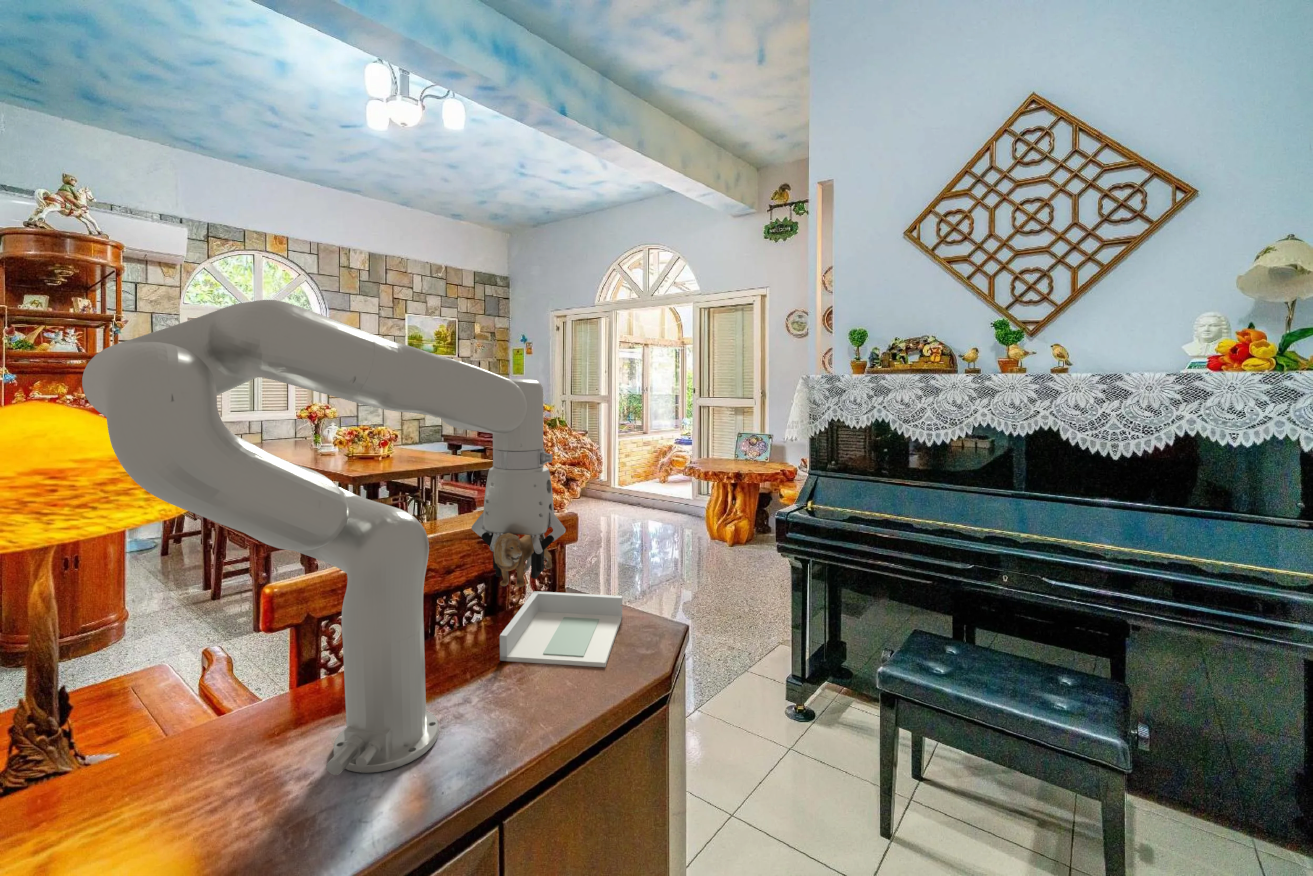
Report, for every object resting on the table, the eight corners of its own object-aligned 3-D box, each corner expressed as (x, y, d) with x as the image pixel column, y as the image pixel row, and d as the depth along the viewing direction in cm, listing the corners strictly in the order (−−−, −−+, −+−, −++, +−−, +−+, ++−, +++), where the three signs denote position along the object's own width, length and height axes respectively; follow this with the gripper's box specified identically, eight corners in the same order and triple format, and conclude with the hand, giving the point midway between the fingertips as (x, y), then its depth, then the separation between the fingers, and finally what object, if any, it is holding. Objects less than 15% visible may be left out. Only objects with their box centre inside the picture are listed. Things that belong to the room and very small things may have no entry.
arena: (605, 667, 99) (605, 641, 99) (499, 660, 101) (499, 635, 100) (622, 617, 119) (622, 595, 118) (534, 612, 120) (533, 591, 120)
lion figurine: (519, 598, 87) (517, 539, 86) (486, 594, 88) (483, 536, 87) (558, 563, 101) (557, 512, 100) (529, 560, 102) (527, 509, 101)
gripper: (578, 458, 94) (577, 569, 96) (474, 454, 95) (475, 564, 98) (567, 466, 87) (566, 586, 89) (454, 461, 88) (456, 580, 90)
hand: (518, 573), depth 93 cm, fingers closed on lion figurine, 5 cm apart
